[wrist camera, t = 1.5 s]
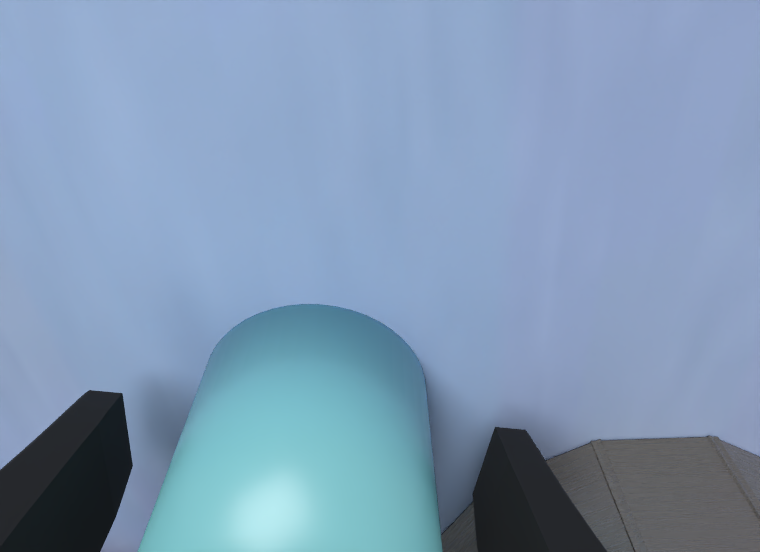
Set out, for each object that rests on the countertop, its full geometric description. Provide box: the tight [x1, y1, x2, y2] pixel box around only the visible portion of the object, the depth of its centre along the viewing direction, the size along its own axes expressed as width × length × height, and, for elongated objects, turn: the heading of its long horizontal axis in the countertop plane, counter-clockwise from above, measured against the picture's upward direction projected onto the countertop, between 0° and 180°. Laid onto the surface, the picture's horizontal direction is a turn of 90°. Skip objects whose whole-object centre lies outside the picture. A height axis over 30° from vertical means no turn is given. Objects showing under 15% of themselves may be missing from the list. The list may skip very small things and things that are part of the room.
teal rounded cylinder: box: [138, 304, 443, 552], centre depth 11 cm, size 5×5×5 cm
